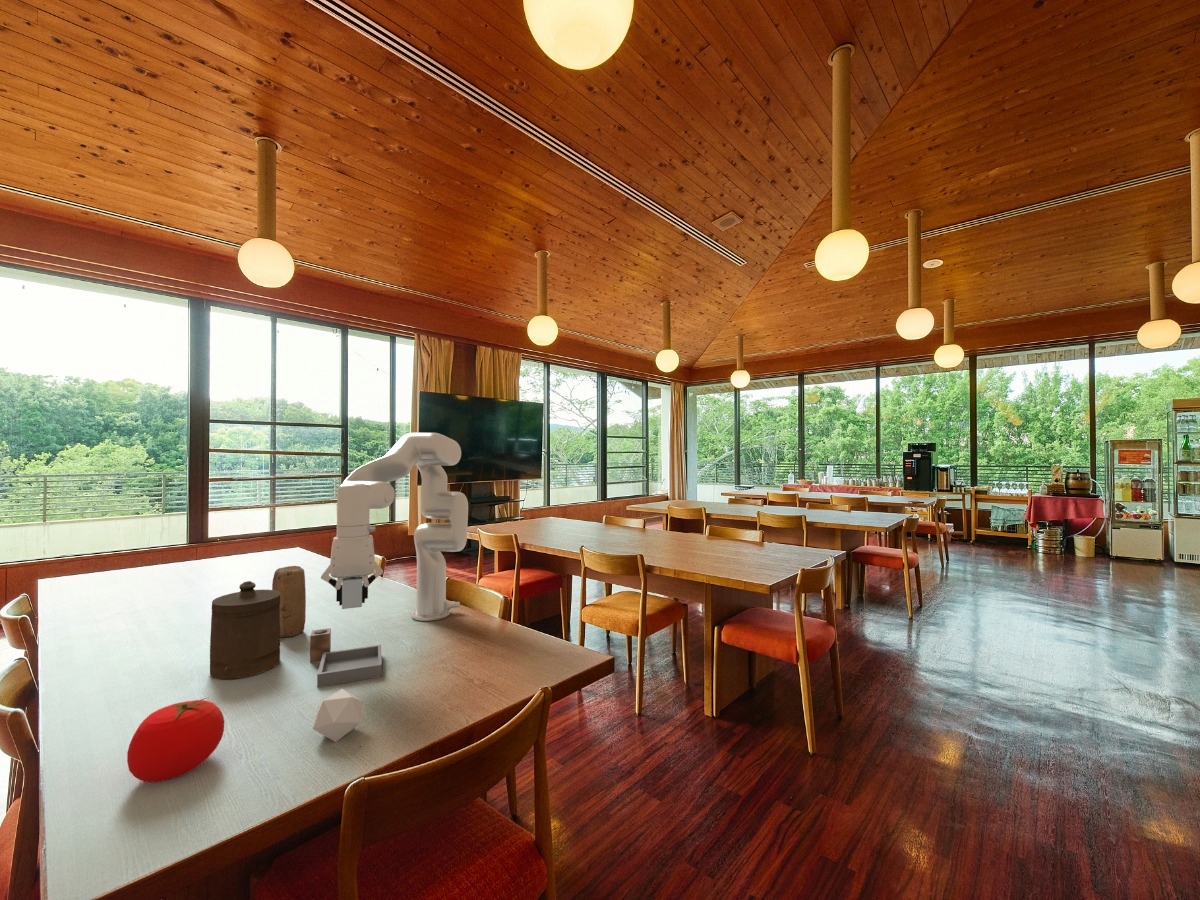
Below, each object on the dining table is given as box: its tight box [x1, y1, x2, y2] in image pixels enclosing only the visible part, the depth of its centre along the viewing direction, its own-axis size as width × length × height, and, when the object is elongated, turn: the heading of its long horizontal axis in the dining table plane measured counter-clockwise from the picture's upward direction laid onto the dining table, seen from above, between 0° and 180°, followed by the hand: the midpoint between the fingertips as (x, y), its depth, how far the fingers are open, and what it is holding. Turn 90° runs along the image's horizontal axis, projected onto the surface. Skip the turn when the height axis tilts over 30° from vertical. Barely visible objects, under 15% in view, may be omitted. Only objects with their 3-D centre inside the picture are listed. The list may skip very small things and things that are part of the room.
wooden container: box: [209, 580, 281, 680], centre depth 129 cm, size 15×15×22 cm
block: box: [271, 565, 307, 638], centre depth 153 cm, size 11×8×20 cm
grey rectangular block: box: [341, 576, 363, 610], centre depth 127 cm, size 4×4×7 cm
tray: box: [316, 644, 383, 688], centre depth 127 cm, size 14×14×3 cm
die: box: [312, 688, 364, 743], centre depth 98 cm, size 8×9×10 cm
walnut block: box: [309, 628, 332, 663], centre depth 135 cm, size 4×4×7 cm
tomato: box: [126, 696, 225, 783], centre depth 87 cm, size 12×14×11 cm
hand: (352, 602), depth 127 cm, fingers closed on grey rectangular block, 4 cm apart
